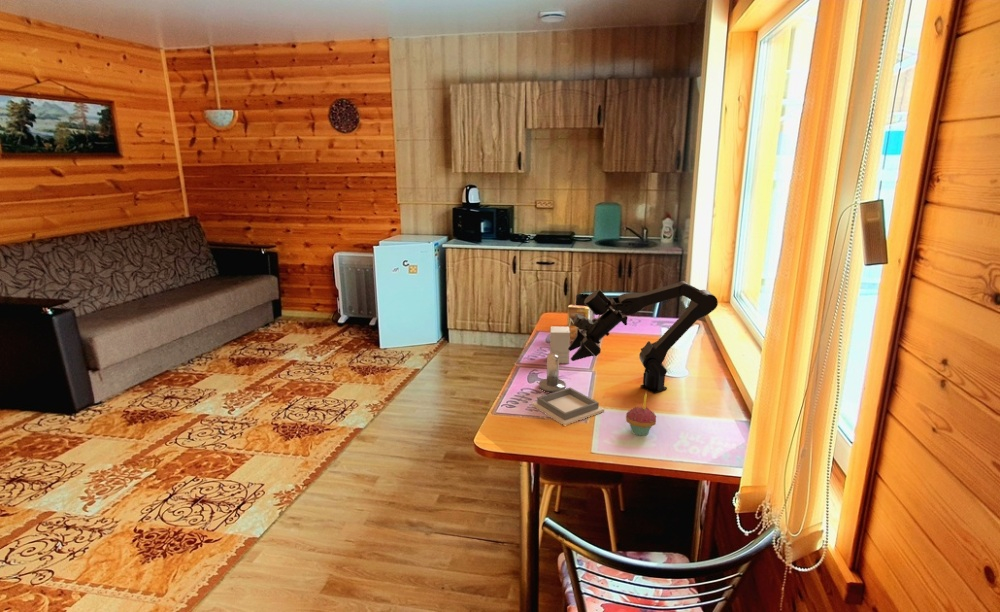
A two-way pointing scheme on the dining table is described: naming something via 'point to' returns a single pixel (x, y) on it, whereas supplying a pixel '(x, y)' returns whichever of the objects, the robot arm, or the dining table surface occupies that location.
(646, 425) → the cupcake
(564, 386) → the flared base peg
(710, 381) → the dining table surface
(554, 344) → the supplement box
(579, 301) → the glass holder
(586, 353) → the robot arm
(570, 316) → the candy box
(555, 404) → the board
